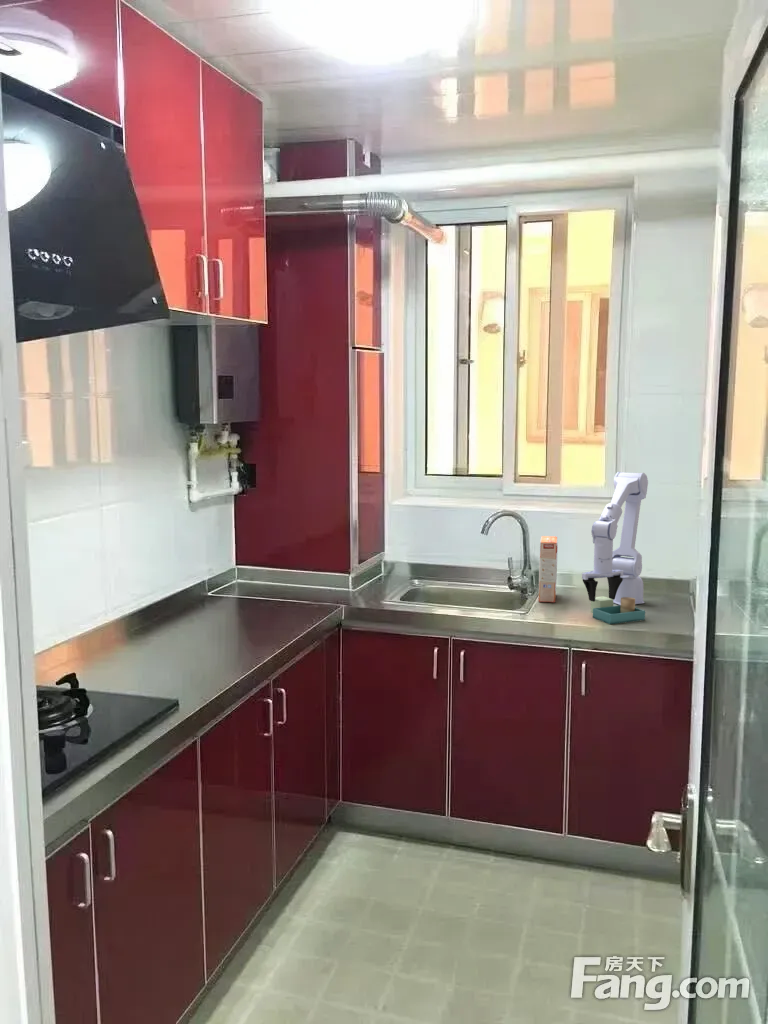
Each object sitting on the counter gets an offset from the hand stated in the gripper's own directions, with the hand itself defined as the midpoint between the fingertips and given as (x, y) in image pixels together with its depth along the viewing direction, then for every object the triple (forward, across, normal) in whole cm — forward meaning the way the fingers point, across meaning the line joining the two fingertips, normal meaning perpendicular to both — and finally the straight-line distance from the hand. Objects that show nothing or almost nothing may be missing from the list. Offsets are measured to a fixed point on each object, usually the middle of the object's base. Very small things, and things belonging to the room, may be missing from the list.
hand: (602, 599), depth 281 cm
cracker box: (+5, -4, +26) cm, 26 cm away
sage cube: (+5, 0, 0) cm, 5 cm away
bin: (+4, +1, -8) cm, 9 cm away
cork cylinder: (+4, +4, -8) cm, 10 cm away
